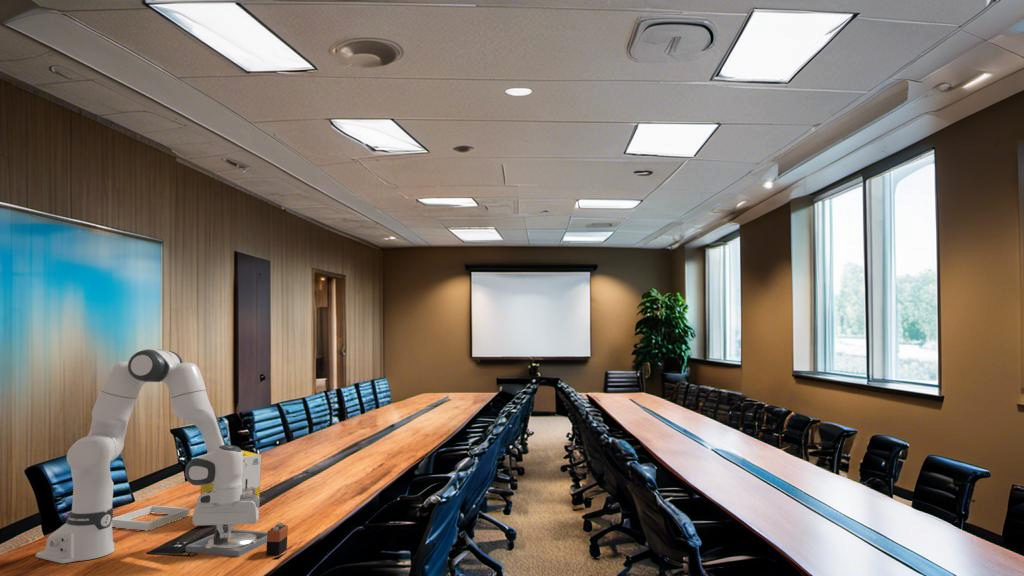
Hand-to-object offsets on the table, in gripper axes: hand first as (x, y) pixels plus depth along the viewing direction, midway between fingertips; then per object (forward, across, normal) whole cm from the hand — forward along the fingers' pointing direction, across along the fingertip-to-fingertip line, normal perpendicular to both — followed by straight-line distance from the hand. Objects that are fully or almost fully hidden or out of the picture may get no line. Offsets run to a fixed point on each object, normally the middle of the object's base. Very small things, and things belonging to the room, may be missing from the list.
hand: (225, 537), depth 201 cm
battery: (+6, -17, +4) cm, 19 cm away
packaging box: (+5, +12, -44) cm, 46 cm away
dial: (+4, -1, -6) cm, 7 cm away
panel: (+5, -1, -6) cm, 8 cm away
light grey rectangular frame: (+5, +40, -42) cm, 58 cm away
